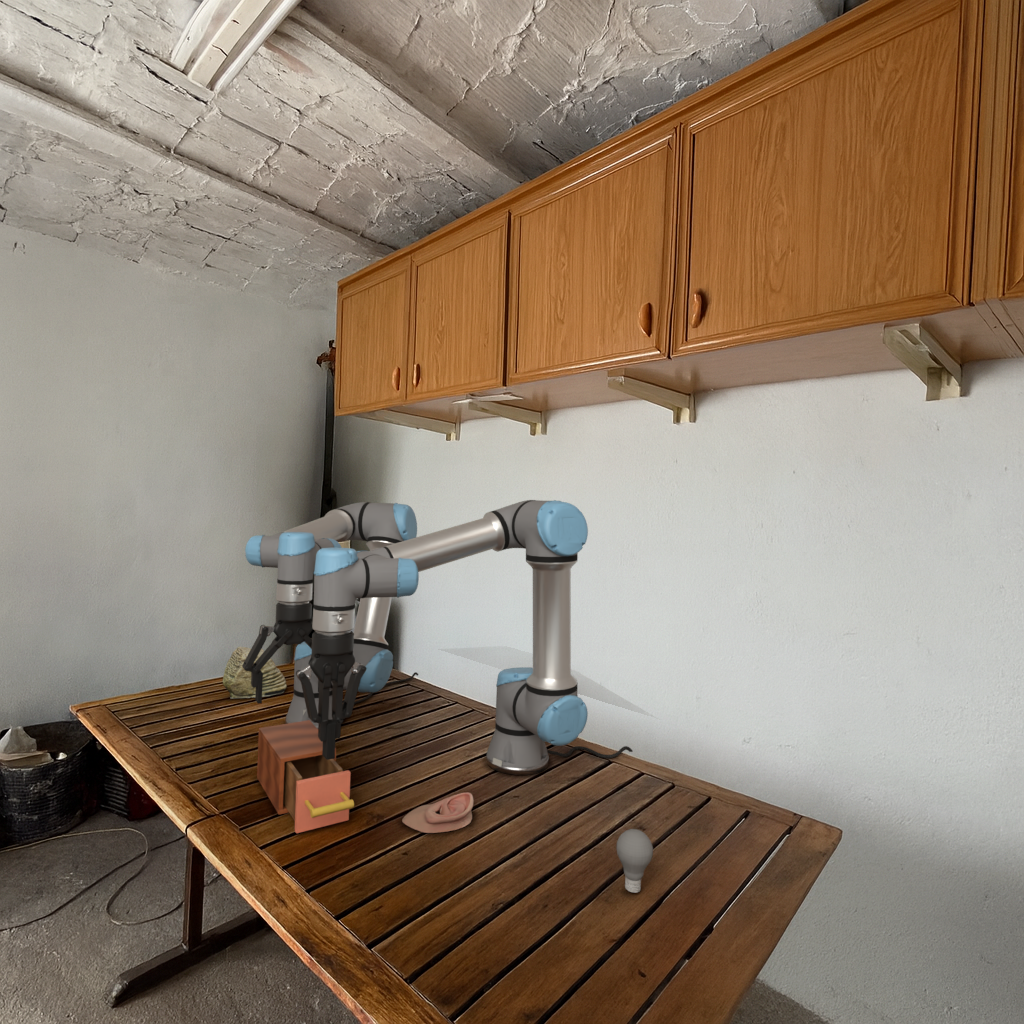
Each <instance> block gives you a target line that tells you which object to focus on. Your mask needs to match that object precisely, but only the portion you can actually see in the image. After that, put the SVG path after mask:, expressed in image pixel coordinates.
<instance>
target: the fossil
mask: <svg viewBox="0 0 1024 1024" xmlns="http://www.w3.org/2000/svg"><path fill="white" fill-rule="evenodd" d="M250 650H251V647H247V646H246V647H245V646H238V647H237V648H236V649H235V650H233V651H232V653H231V656H230V657H229V659H228V660H227V663H226V666H225V668H224V671H223V675H222V676H223V677H222V685H223V687H224V688H225V690H226V691H228V693H229V698H230V699H250V698H255V694H256V687H255V688H253V687H252V685H251V672H250V671H245V670H244V668H243V667H242V665H243V663H244V661H245V659H246V658H247V656H248V654H249V652H250ZM264 651H265V650H264V649H263V648H261V650H260V652H259V654H258V656H257V658H256V660H255V661H254V663H255V662H256V661H257V659H258V658H259V657H260V656H261V655H262V654H263V652H264ZM254 663H253V664H254ZM261 672H262V673H263V684H262V698H264V697H271V696H275V695H281V694H284V693H285V691H286V689H287V687H288V686H287V680H286V678H285V676H284V674H283V673H282V672H281V669H279V668H278V667H277V665H276V663H275V662H274V660H273V659H272V657H271V658H270V659H269V660H268V662H267V663H266V664H265V665H264V666H263V667H262V669H261Z"/></svg>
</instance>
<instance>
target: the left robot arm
mask: <svg viewBox="0 0 1024 1024" xmlns="http://www.w3.org/2000/svg"><path fill="white" fill-rule="evenodd" d="M417 535H418V521H417V516H416V513H415V511H414V510H413V508H412V507H411V506H410V505H408V504H404V503H398V502H394V503H393V502H392V503H391V502H369V501H360V502H354V503H350V504H347V505H343V506H340V507H337V508H334V509H331V510H329V511H328V512H327V513H325V515H324V516H322V517H320V518H316V519H314V520H312V521H309V522H306V523H303V524H300V525H297V526H295V527H291V528H289V529H287V530H284V531H281V532H278V533H274V534H272V535H266V534H262V535H261V534H260V535H252V536H251V537H250V538H249V539H248V540H247V541H246V544H245V548H244V552H245V560H246V561H247V563H248V564H249V565H251V566H256V567H261V568H273V569H274V568H275V569H277V579H276V580H277V581H276V597H275V598H276V601H277V603H276V605H275V623H274V625H265V624H261V625H260V626H259V631H258V636H257V637H256V639H255V641H254V642H253V644H252V646H251V647H250V649H251V650H250V652H249V654H248V656H247V658H246V659H245V661H244V663H243V665H242V667H243V668H244V670H245V671H250V672H251V685H252V687H253V688H255V687H256V694H255V697H254V700H255V702H256V703H257V704H259V705H260V704H262V703H263V697H262V684H263V673H262V672H261V669H262V667H263V666H264V665H265V664H266V663H267V662H268V660H269V659H270V658H271V659H272V657H273V656H274V655H275V653H276V652H277V651H278V650H279V649H280V648H282V647H283V645H286V646H292V645H296V647H295V652H294V659H293V660H294V672H293V695H292V696H293V697H292V699H291V702H290V704H289V708H288V711H287V713H286V715H285V724H288V723H295V722H301V721H307V720H310V719H309V717H308V713H307V708H306V703H305V699H304V694H303V689H302V685H301V682H300V680H299V679H298V677H297V676H296V671H297V670H302V669H304V668H305V667H307V666H308V662H309V660H310V658H311V655H312V637H310V634H311V633H312V632H313V628H312V624H313V621H312V618H313V604H312V602H311V601H312V600H313V587H314V571H315V561H316V554H317V552H318V551H319V550H320V549H322V548H343V547H342V545H341V544H340V543H343V542H346V541H360V542H361V541H362V542H366V543H365V544H366V546H367V548H368V550H369V551H371V550H374V549H378V548H382V547H385V546H388V545H392V544H395V543H399V542H402V541H406V540H409V539H413V538H416V537H418V536H417ZM392 599H393V597H377V598H359V604H358V609H357V612H356V613H357V614H356V618H355V621H354V628H353V631H352V632H353V633H354V646H353V655H354V657H355V661H356V662H357V663H361V664H362V665H364V666H365V667H366V671H365V673H364V674H363V676H362V678H361V680H360V684H359V688H358V691H357V692H359V693H362V694H363V693H369V694H368V695H367V696H365V697H363V698H360V699H358V700H355V703H354V705H356V704H359V703H362V702H364V701H366V700H368V699H369V698H371V697H372V695H373V694H374V693H378V692H380V691H381V690H382V689H383V688H384V687H387V686H390V685H393V684H397V683H403V682H408V681H410V680H412V679H413V678H414V677H415V676H419V673H418V672H414V673H413V674H411V676H410V677H408V678H407V677H406V678H403V679H397V680H393V681H390V682H388V681H389V679H390V677H391V675H392V671H393V668H394V667H393V666H394V661H393V660H394V655H393V652H392V651H390V650H389V643H388V642H387V640H386V639H385V635H386V632H387V631H386V630H387V626H388V620H389V614H390V610H391V604H392ZM272 633H274V634H275V637H274V638H273V639H272V641H271V643H270V644H269V646H268V647H267V648H266V649H265V650H264V652H263V654H262V655H261V656H260V657H259V658H258V659H257V661H256V662H255V663H254V661H255V660H256V658H257V656H258V654H259V652H260V650H261V649H263V646H264V645H265V643H266V641H267V638H268V637H269V636H271V634H272ZM253 663H254V664H253ZM351 673H352V672H351V669H350V671H349V672H348V673H347V675H346V676H345V678H344V686H343V691H346V690H347V686H348V683H349V679H350V675H351ZM311 676H312V677H311V679H310V682H311V685H312V689H313V694H314V698H315V703H316V708H317V713H318V703H319V679H318V678H317V677H316V675H315V674H314V673H313V671H312V672H311ZM332 690H333V683H332V681H331V687H330V693H329V717H328V720H329V719H332ZM310 721H311V720H310ZM311 722H312V721H311ZM312 723H313V722H312ZM313 724H314V725H315V727H316V728H317V729H318V723H313Z"/></svg>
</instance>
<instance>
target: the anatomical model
mask: <svg viewBox="0 0 1024 1024" xmlns="http://www.w3.org/2000/svg"><path fill="white" fill-rule="evenodd" d="M473 807H474V796H473V794H472V793H471V792H467V791H466V792H461V793H456V794H453V795H450V796H448V797H445V798H443V799H441V800H439V801H436V802H434V803H431V804H430V803H429V804H423V805H421V806H418V807H416V808H414V809H412V810H411V811H409V812H408V813H407V814H405V816H403V817H402V820H401V821H402V823H403V824H404V825H405V826H406V827H409V828H410V829H412V830H415V831H418V832H421V833H424V834H435V833H437V834H438V833H446V832H452V831H456V830H459V829H463V828H464V827H466V826H468V825H470V824H471V822H472V820H473V813H472V809H474V808H473Z"/></svg>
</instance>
